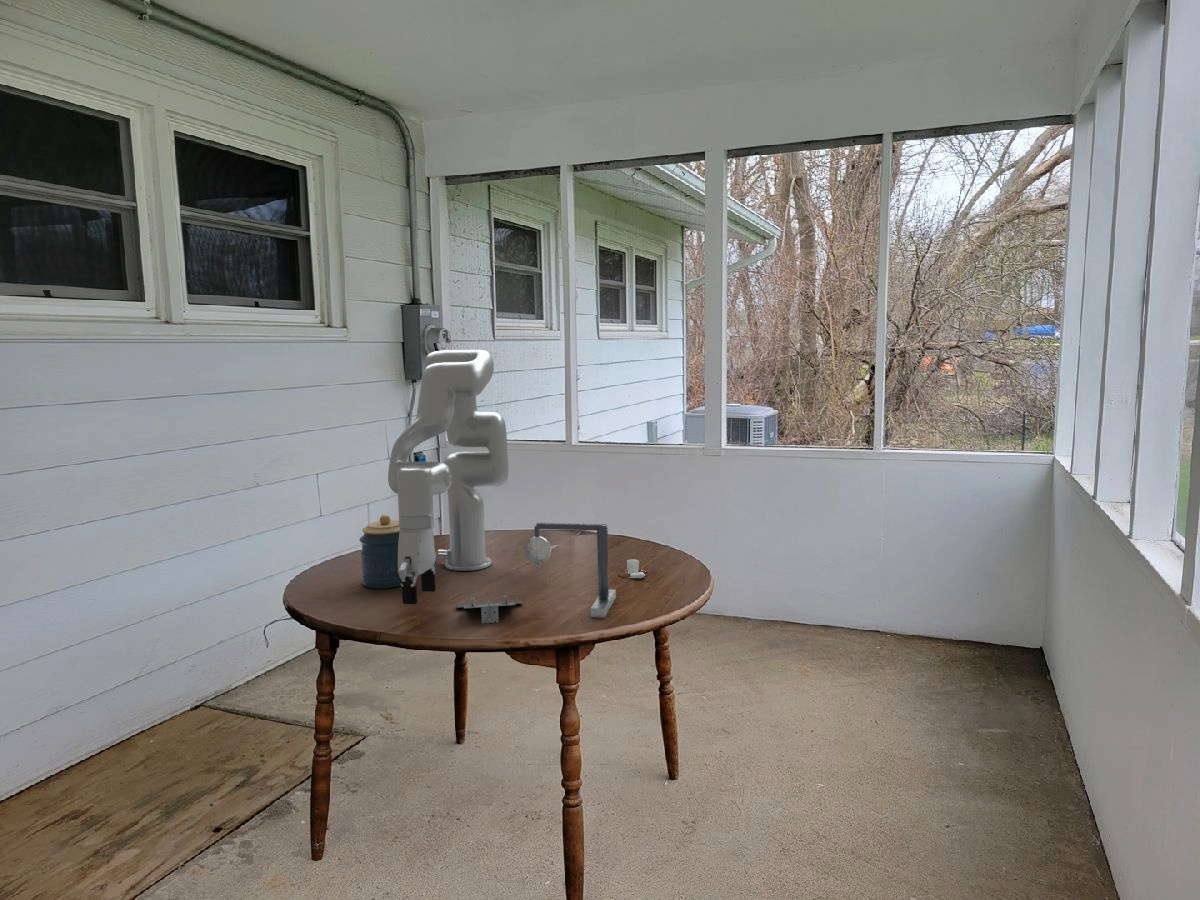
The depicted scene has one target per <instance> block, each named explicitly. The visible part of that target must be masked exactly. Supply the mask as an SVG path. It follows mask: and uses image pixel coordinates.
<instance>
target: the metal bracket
mask: <svg viewBox="0 0 1200 900" xmlns="http://www.w3.org/2000/svg"><path fill="white" fill-rule="evenodd" d="M508 597H509V596H508V595H503V602H497V603H491V601H490V600H489V601H488V603H479V604H475V603H476V602H475V597H471V598H470V604H465V605H464V604H463V605H455V608H456V609H459V608H463V609H475V608H480V610H481V624H485V623H486V624H491V623H492V624H494V623H500V622H499V607H503V606H516V605H517V604H521V605H522V604H523V601H512V602H509V599H508Z"/></svg>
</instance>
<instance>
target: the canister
mask: <svg viewBox="0 0 1200 900" xmlns="http://www.w3.org/2000/svg"><path fill="white" fill-rule="evenodd" d="M361 531H362V532H363V535H362V536H360V537H359V539H358V540H359V542H360V543H361V550H360V552H359V554H360V563H361V575H360V576H361V581H362V585H363V586H364V587H366V588H369V589H370V588H371V589H391V588H398V587H402V586H401V582H400V576H399V573H398V542H399V534H400V530H399V520H394V519H393V520H392V519H391V518H390V516H389V515H388V514H383V515H382V514H381V516H380V517H379V520H378V521H374V522H370V523H368V524H367V526H364V527H363V528H362V529H361ZM409 578H410V579H411V580H412V577H409Z"/></svg>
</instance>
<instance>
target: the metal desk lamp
mask: <svg viewBox="0 0 1200 900" xmlns="http://www.w3.org/2000/svg"><path fill="white" fill-rule="evenodd" d="M608 526H609V525H608V524H605V523H604V524H603V523H600V524H599V523H565V522H564V523H559V522H537V523H536V525H534V536H532V537H530V538H529V539H528V540H527V541H526V542H525V544H524V549H523V550H524V555H525V557H526V559H528V560H529V561H530V562H532V563H535V564H536V569H541V563H543V562H545V561H546V560H548V558H549V557H550V556H551V553H552V544H551V542H550V541H549V539H548V538H546V537H544V536H542V535H541V530H556V531H557V530H558V531H559V530H561V531H562V530H563V531H567V530H568V531H596V539H597V540H596V542H597V545H596V546H597V550H596V551H597V589H598V590H597V591H598V592H597V593H598V594H597V598H596V599H595V601H594V603H593V604H592V606H591V607H590V617H591V618H600V619H601V618H603V619H604V618H605V617H606V616H607V614H608V612H609V610H610V609H611V607H612V606H613V603H614V602H615V600H616V599H617V595H616V593H617V591H616V589H610V585H609V584H610V583H609V581H610V578H609V538H608V536H609V533H608V532H609V531H608V530H609V529H608Z"/></svg>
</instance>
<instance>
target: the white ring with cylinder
mask: <svg viewBox="0 0 1200 900" xmlns="http://www.w3.org/2000/svg"><path fill="white" fill-rule="evenodd" d="M639 566H640V560H638V559H634V558H632V559H628V560H626V570H628V572H627V573H628V575H629V574H630V575H629V576H630V578H639V579H643V577H644V576H645V574H644V573H643V572H638V570H640V569H639ZM644 578H645V577H644Z"/></svg>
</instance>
